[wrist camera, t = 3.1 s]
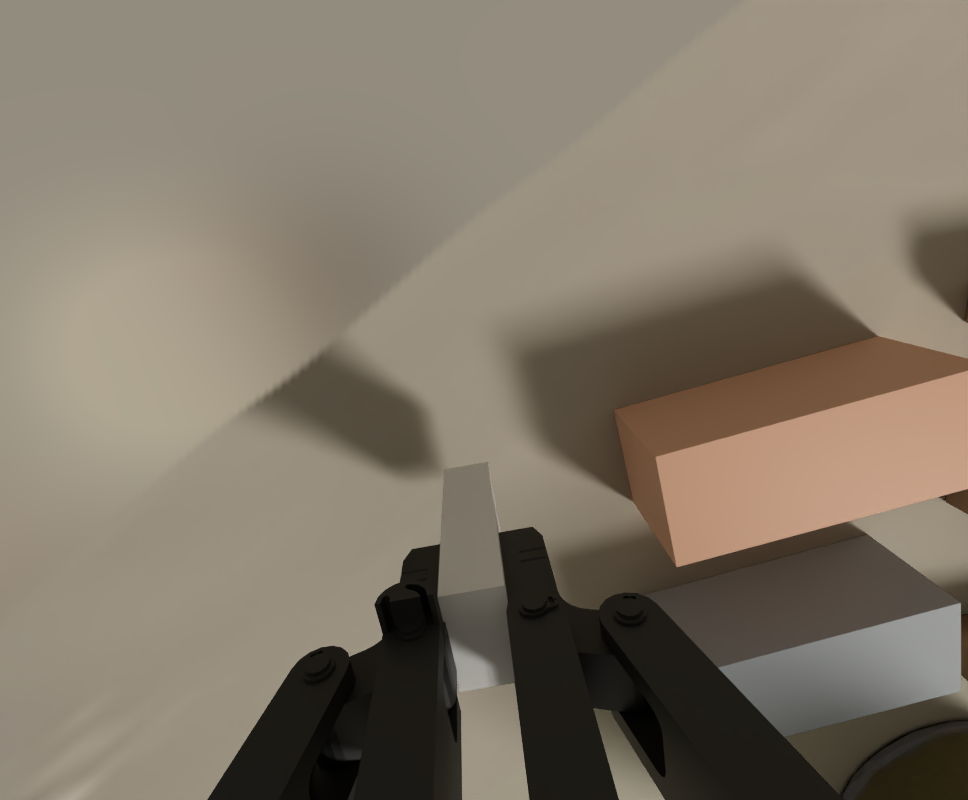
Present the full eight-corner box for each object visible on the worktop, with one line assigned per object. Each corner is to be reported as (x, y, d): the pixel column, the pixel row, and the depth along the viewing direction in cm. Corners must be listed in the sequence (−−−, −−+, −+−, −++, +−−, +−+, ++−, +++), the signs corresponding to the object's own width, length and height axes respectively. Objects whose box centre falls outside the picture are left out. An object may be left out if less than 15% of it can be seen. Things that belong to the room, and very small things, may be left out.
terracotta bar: (631, 499, 21) (676, 567, 17) (612, 408, 20) (655, 456, 16) (878, 431, 21) (987, 483, 17) (874, 335, 20) (990, 364, 16)
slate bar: (649, 666, 24) (692, 761, 20) (632, 594, 23) (674, 679, 18) (869, 607, 24) (960, 691, 19) (864, 531, 22) (960, 602, 18)
